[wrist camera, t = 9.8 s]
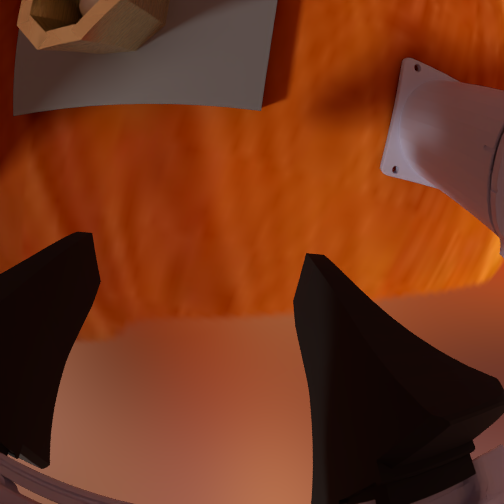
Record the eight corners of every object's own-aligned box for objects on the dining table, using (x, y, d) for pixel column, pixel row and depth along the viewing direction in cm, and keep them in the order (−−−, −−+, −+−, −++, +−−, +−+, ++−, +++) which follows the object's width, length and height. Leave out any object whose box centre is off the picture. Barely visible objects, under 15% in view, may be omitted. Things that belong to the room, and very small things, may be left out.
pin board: (284, -51, 10) (299, -94, 5) (259, 108, 15) (266, 119, 11) (44, -27, 8) (-3, -40, 3) (26, 112, 14) (-28, 131, 9)
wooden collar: (175, -29, 9) (143, -76, 4) (161, 49, 12) (116, 34, 7) (92, -18, 9) (34, -43, 4) (79, 57, 11) (12, 57, 6)
